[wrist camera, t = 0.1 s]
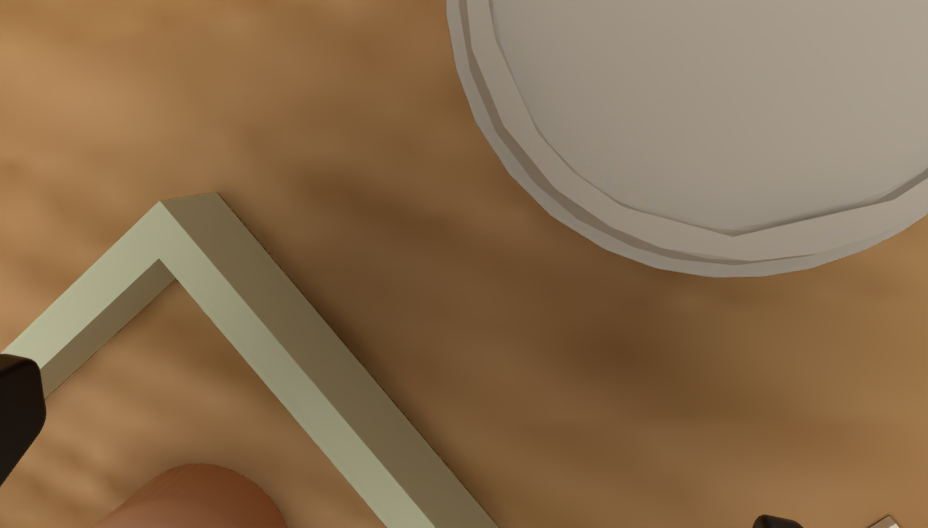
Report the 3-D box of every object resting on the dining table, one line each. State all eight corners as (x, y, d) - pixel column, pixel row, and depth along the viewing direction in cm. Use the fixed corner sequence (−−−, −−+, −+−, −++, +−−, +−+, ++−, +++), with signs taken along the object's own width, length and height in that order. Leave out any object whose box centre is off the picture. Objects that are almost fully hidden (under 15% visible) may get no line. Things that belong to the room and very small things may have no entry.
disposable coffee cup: (473, 168, 24) (368, 196, 12) (557, -149, 22) (530, -479, 10) (772, 252, 23) (973, 371, 11) (887, -72, 21) (1274, -340, 9)
